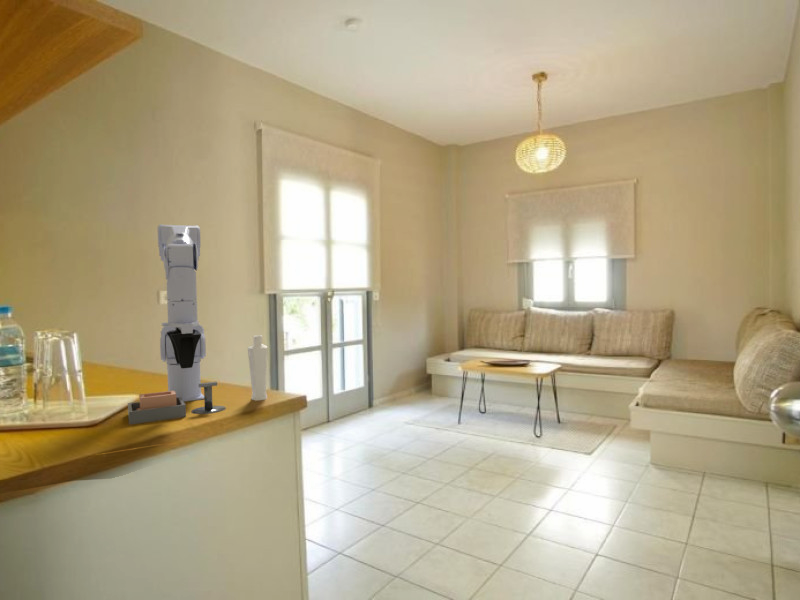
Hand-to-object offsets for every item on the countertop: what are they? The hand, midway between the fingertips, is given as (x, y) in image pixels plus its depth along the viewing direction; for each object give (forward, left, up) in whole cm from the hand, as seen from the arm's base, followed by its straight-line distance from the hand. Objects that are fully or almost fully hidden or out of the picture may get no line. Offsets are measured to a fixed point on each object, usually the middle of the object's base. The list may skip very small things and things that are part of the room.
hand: (184, 365), depth 104 cm
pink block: (-1, -5, -10) cm, 11 cm away
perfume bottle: (-4, +16, -10) cm, 20 cm away
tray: (-1, -6, -10) cm, 12 cm away
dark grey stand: (0, +4, -10) cm, 11 cm away
